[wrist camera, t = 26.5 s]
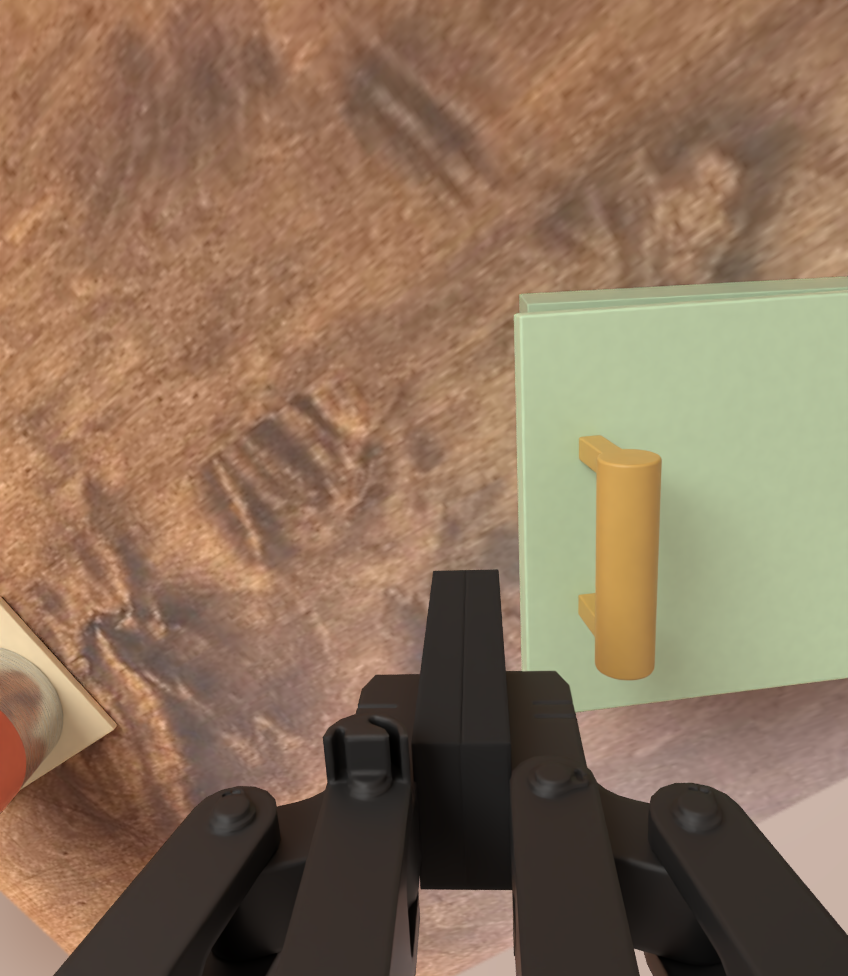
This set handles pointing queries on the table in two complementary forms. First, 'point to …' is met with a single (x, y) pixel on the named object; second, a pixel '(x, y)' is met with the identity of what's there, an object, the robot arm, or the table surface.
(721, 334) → the sage green panel
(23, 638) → the coaster
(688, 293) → the chest
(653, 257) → the table surface
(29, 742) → the can
